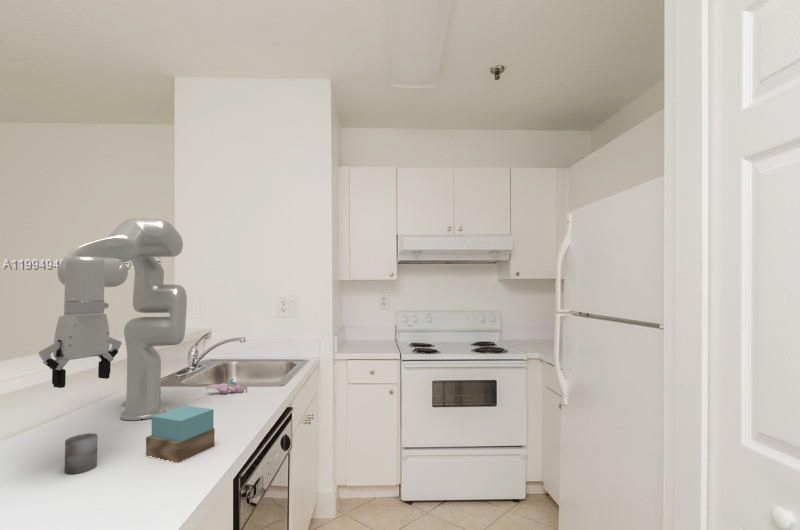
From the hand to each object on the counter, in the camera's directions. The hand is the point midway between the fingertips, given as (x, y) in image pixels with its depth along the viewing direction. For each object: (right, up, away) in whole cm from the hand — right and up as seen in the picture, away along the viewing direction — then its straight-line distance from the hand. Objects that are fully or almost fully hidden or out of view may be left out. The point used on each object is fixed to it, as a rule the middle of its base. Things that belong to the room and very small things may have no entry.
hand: (82, 382), depth 99 cm
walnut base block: (+18, -21, +9) cm, 29 cm away
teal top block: (+19, -16, +9) cm, 26 cm away
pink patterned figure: (+7, -23, +65) cm, 69 cm away
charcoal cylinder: (0, -20, -1) cm, 20 cm away
